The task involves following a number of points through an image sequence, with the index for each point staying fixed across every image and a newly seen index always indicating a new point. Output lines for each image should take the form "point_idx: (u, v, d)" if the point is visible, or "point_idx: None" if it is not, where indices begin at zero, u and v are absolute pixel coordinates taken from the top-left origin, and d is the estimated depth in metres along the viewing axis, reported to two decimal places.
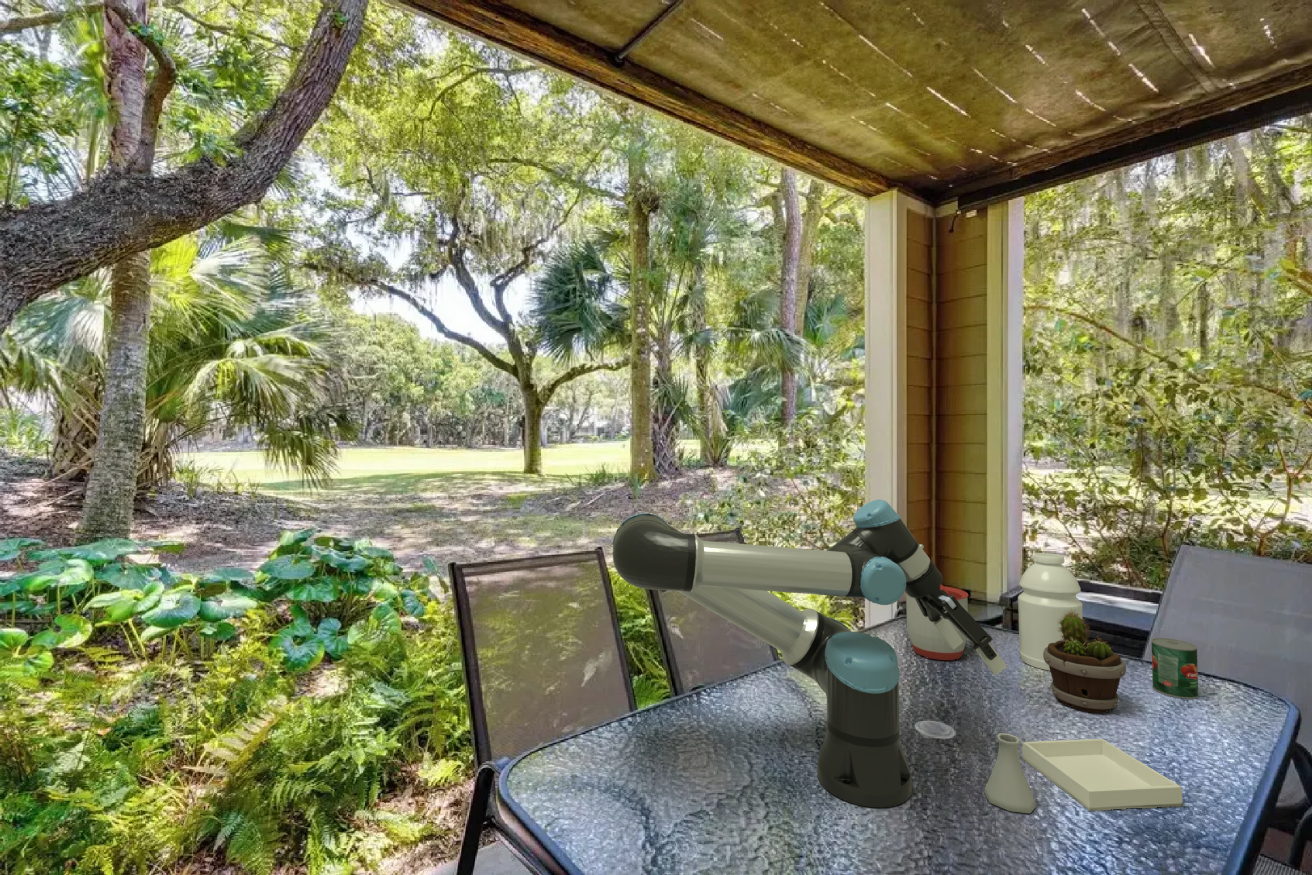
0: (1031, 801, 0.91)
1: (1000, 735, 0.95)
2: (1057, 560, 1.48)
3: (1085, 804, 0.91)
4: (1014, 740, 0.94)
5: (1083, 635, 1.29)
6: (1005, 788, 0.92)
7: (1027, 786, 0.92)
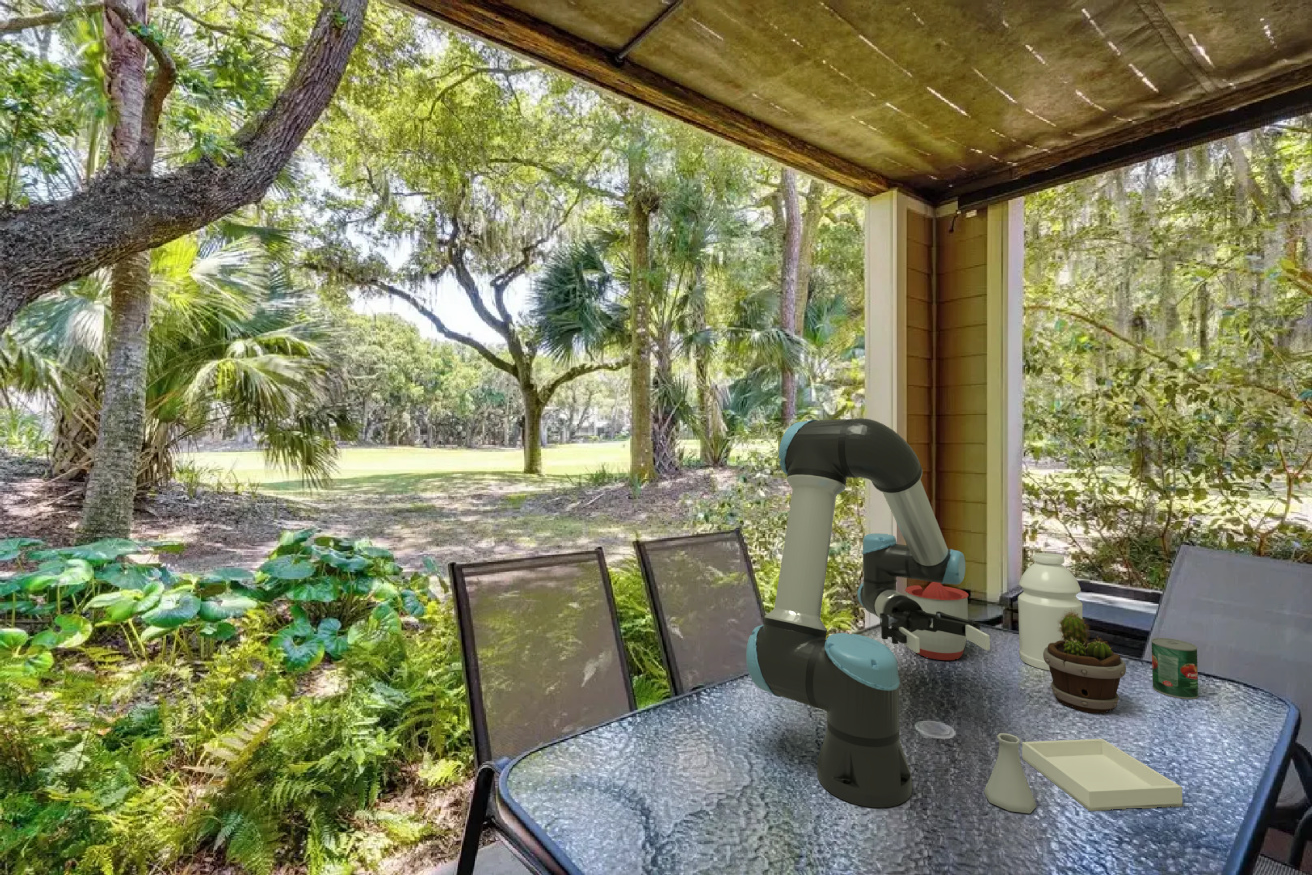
0: (1031, 801, 0.91)
1: (1000, 735, 0.95)
2: (1057, 560, 1.48)
3: (1085, 804, 0.91)
4: (1014, 740, 0.94)
5: (1083, 635, 1.29)
6: (1005, 788, 0.92)
7: (1027, 786, 0.92)
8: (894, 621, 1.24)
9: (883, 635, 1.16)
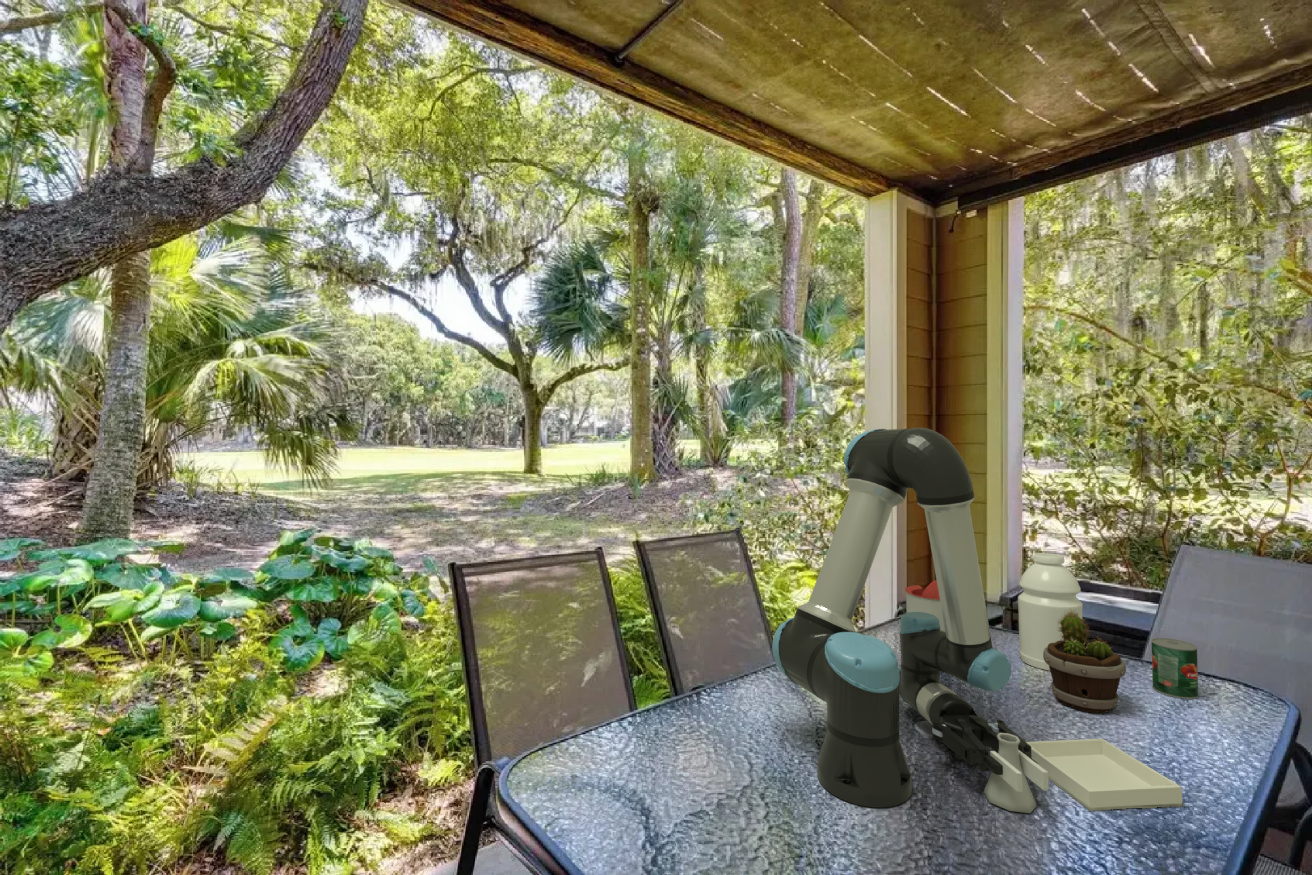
0: (1031, 801, 0.91)
1: (1000, 735, 0.95)
2: (1057, 560, 1.48)
3: (1085, 804, 0.91)
4: (1014, 740, 0.94)
5: (1083, 635, 1.29)
6: (1006, 787, 0.92)
7: (1027, 786, 0.92)
8: None
9: (970, 760, 0.95)
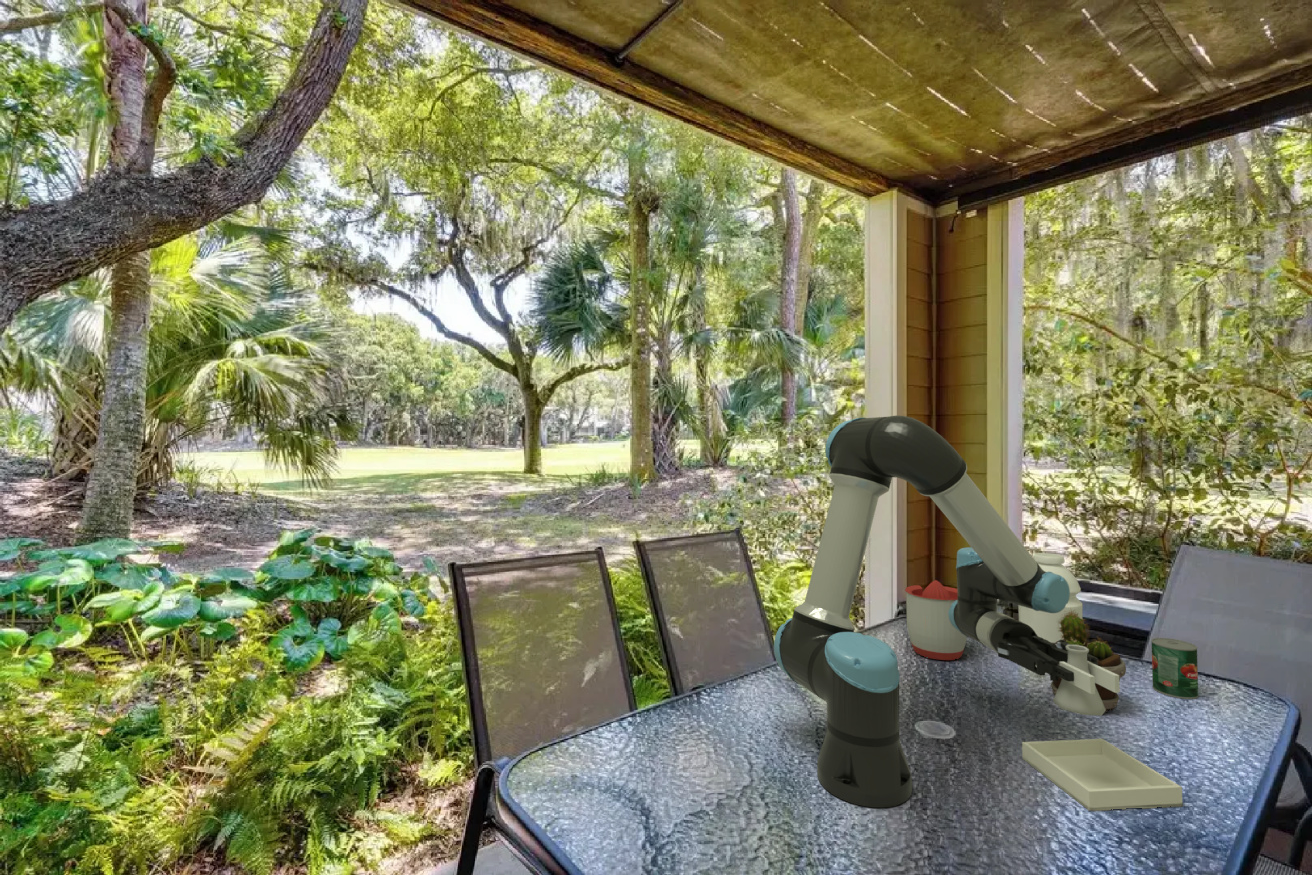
0: (1101, 705, 0.95)
1: (1068, 646, 0.99)
2: (1057, 560, 1.48)
3: (1085, 804, 0.91)
4: (1082, 650, 0.98)
5: (1083, 635, 1.29)
6: (1076, 693, 0.96)
7: (1096, 692, 0.96)
8: None
9: (1040, 671, 0.99)
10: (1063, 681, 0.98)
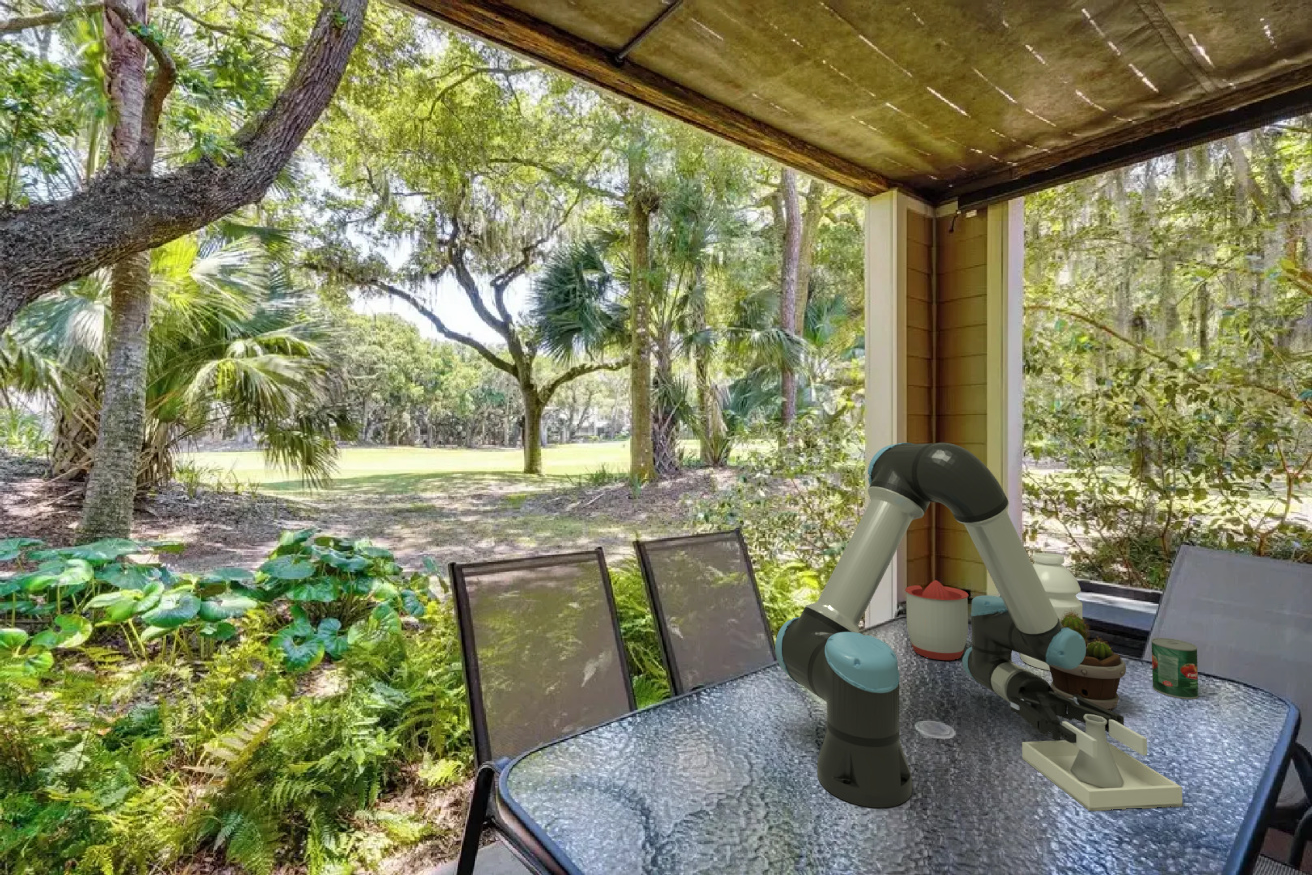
0: (1119, 777, 0.96)
1: (1086, 716, 1.00)
2: (1057, 560, 1.48)
3: (1085, 804, 0.91)
4: (1100, 720, 0.99)
5: (1083, 635, 1.29)
6: (1094, 765, 0.97)
7: (1114, 763, 0.97)
8: None
9: (1043, 730, 1.01)
10: (1081, 751, 0.99)
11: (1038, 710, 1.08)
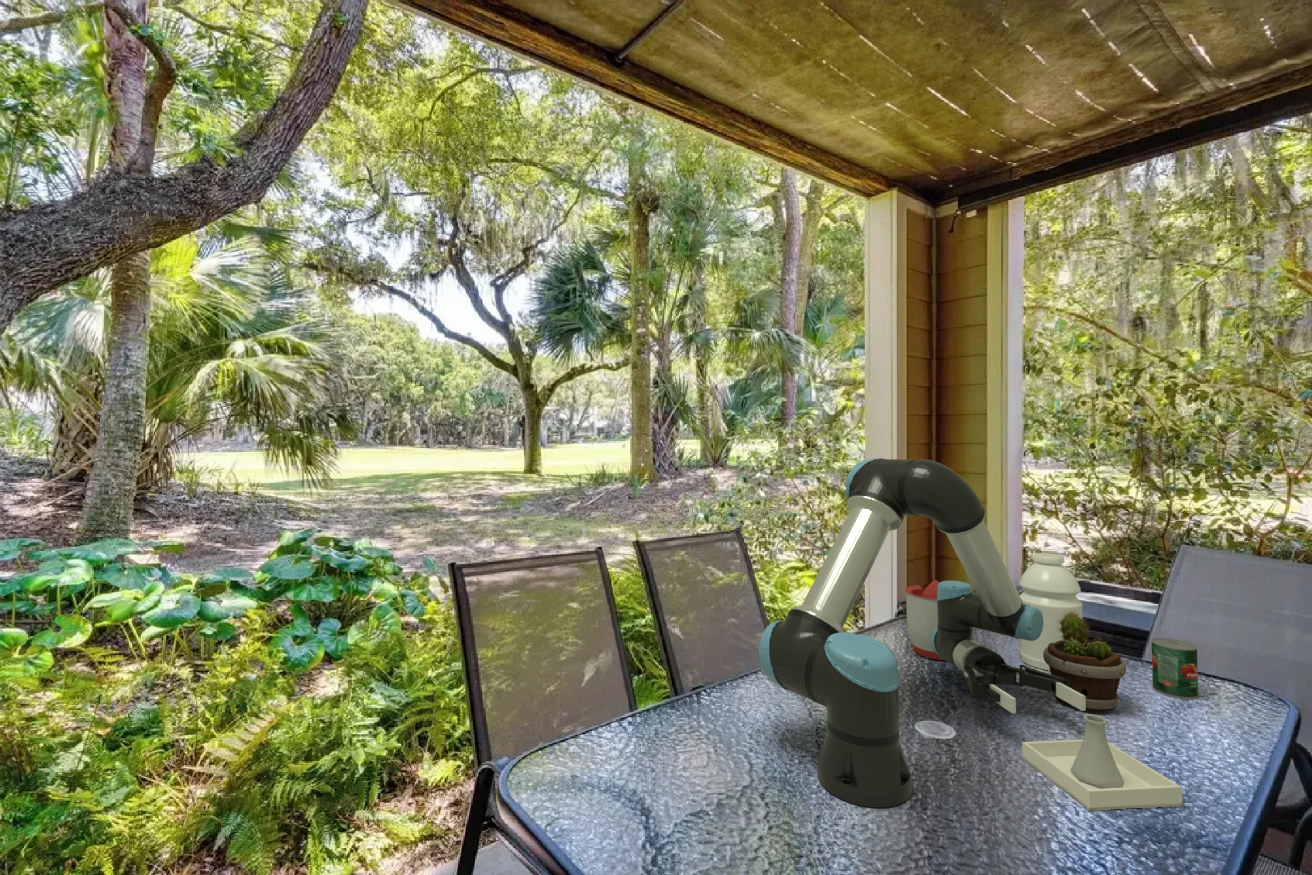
0: (1119, 777, 0.96)
1: (1086, 716, 1.00)
2: (1057, 560, 1.48)
3: (1085, 804, 0.91)
4: (1100, 720, 0.99)
5: (1083, 635, 1.29)
6: (1094, 765, 0.97)
7: (1114, 763, 0.97)
8: (979, 675, 1.24)
9: (973, 692, 1.16)
10: (1081, 751, 0.99)
11: None
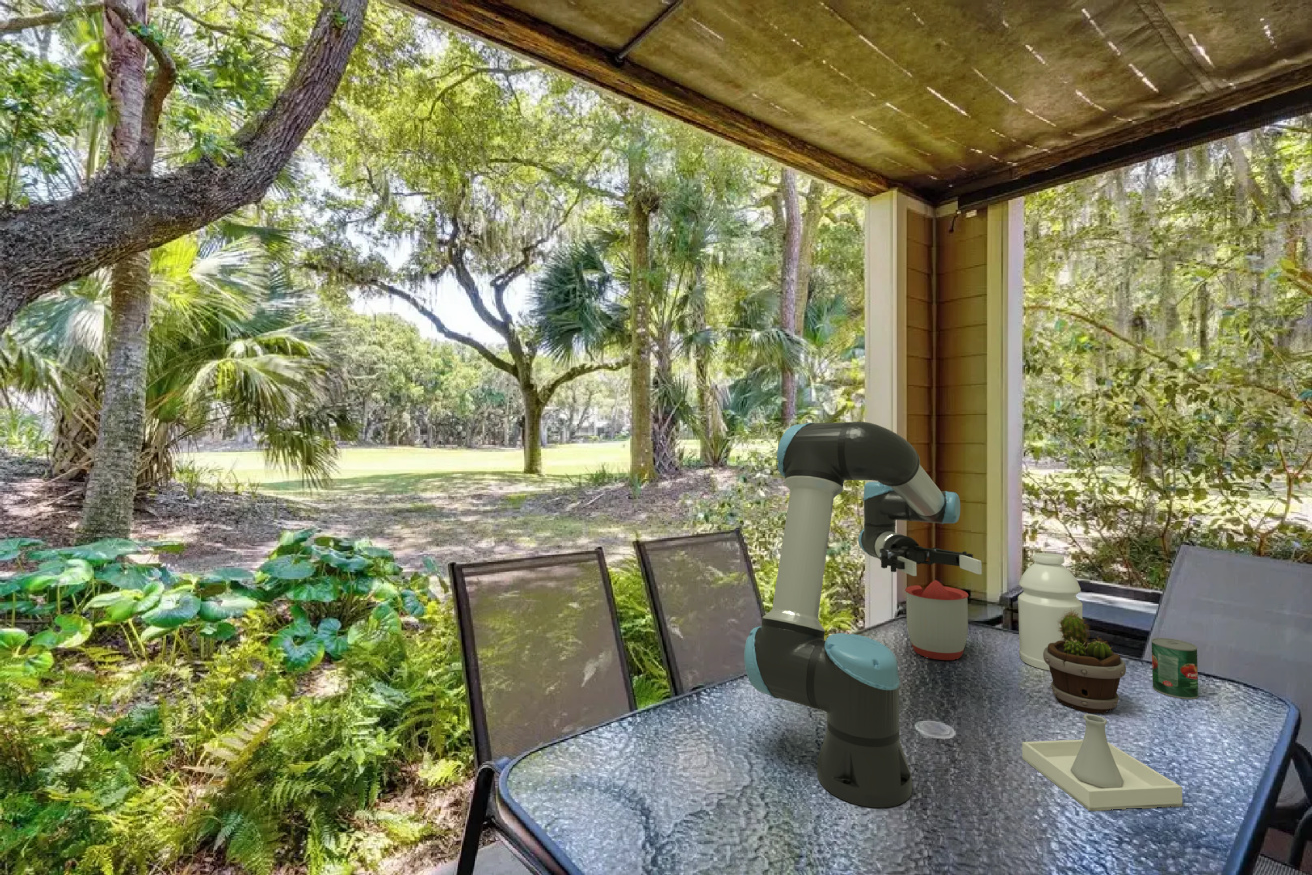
0: (1119, 777, 0.96)
1: (1086, 716, 1.00)
2: (1057, 560, 1.48)
3: (1085, 804, 0.91)
4: (1100, 720, 0.99)
5: (1083, 635, 1.29)
6: (1094, 765, 0.97)
7: (1114, 763, 0.97)
8: None
9: (883, 564, 1.25)
10: (1081, 751, 0.99)
11: None
